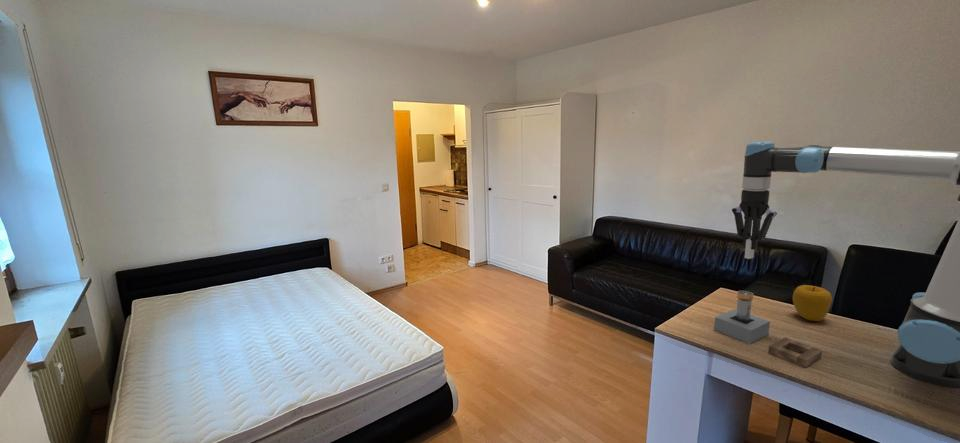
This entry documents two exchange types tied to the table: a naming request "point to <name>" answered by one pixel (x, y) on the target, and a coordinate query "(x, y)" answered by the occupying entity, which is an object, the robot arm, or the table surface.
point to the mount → (803, 359)
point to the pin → (744, 306)
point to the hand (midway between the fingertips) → (749, 257)
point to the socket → (742, 327)
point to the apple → (812, 302)
